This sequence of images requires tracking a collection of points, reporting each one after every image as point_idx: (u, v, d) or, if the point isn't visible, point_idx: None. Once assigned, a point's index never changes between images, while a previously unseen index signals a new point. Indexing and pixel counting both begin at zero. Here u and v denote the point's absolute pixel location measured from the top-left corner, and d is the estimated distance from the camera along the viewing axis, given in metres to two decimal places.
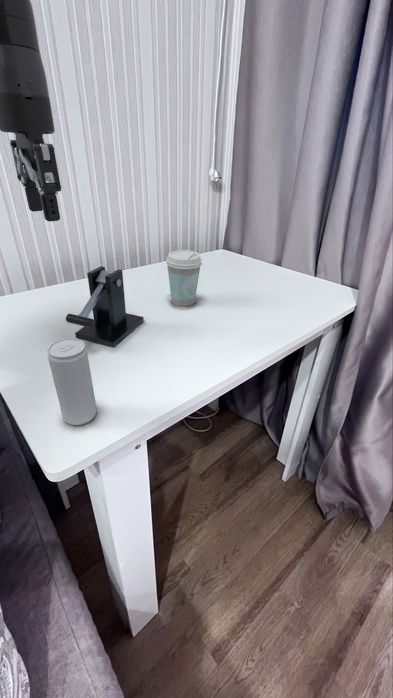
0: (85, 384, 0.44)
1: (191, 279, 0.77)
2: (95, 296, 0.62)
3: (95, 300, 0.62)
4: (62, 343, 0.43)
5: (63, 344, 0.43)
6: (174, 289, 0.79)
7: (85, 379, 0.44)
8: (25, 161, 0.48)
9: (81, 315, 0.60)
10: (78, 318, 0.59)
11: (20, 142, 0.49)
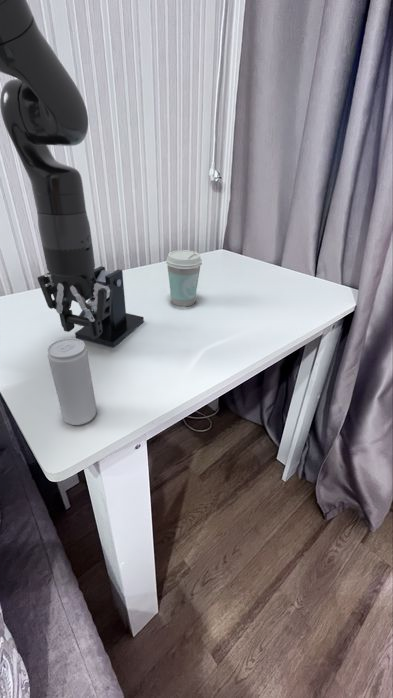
0: (85, 384, 0.44)
1: (191, 279, 0.77)
2: None
3: None
4: (62, 343, 0.43)
5: (63, 344, 0.43)
6: (174, 289, 0.79)
7: (85, 379, 0.44)
8: (78, 296, 0.55)
9: (81, 315, 0.60)
10: (78, 318, 0.59)
11: (64, 278, 0.55)
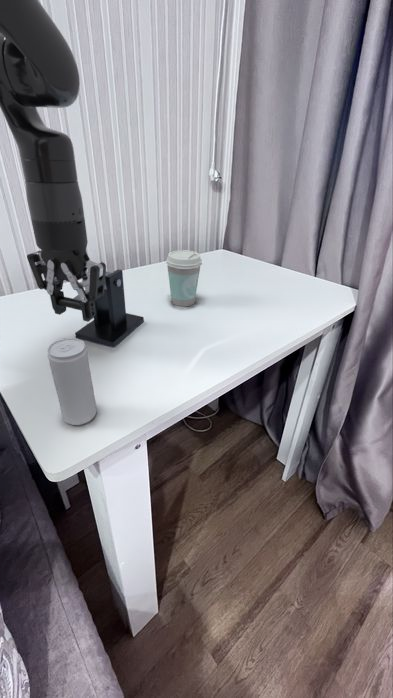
0: (85, 384, 0.44)
1: (191, 279, 0.77)
2: None
3: None
4: (62, 343, 0.43)
5: (63, 344, 0.43)
6: (174, 289, 0.79)
7: (85, 379, 0.44)
8: (69, 274, 0.52)
9: (75, 298, 0.57)
10: (71, 299, 0.57)
11: (54, 255, 0.52)
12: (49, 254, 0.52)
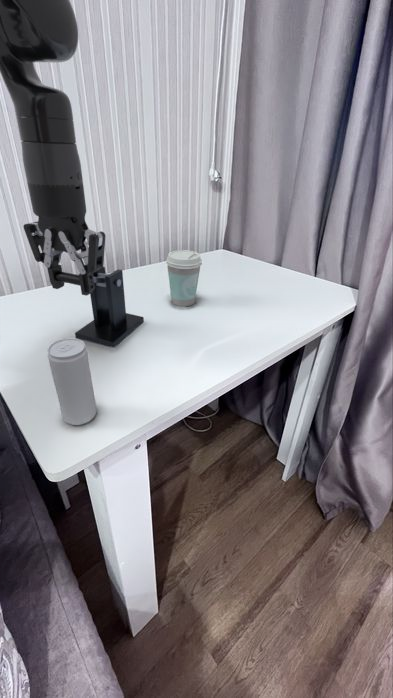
0: (85, 384, 0.44)
1: (191, 279, 0.77)
2: None
3: None
4: (62, 343, 0.43)
5: (63, 344, 0.43)
6: (174, 289, 0.79)
7: (85, 379, 0.44)
8: (67, 243, 0.50)
9: None
10: None
11: (52, 223, 0.50)
12: (46, 223, 0.50)
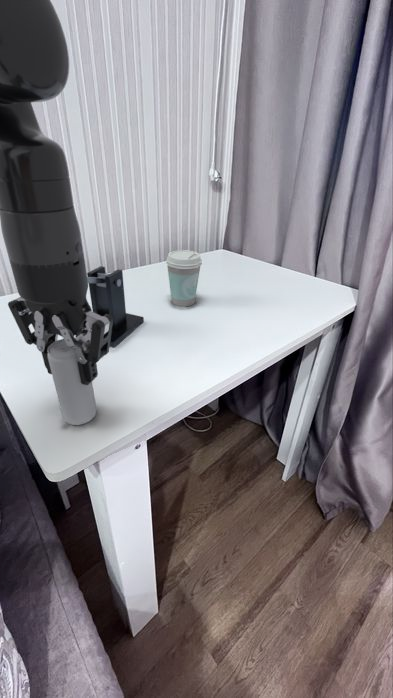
0: None
1: (191, 279, 0.77)
2: (93, 277, 0.60)
3: (91, 279, 0.60)
4: (62, 343, 0.43)
5: (63, 344, 0.43)
6: (174, 289, 0.79)
7: None
8: (63, 329, 0.38)
9: None
10: None
11: (43, 303, 0.38)
12: (36, 302, 0.39)
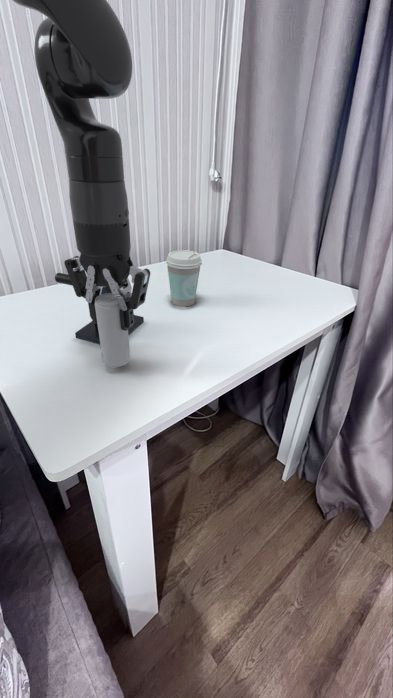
0: None
1: (191, 279, 0.77)
2: None
3: None
4: (105, 296, 0.53)
5: (106, 297, 0.53)
6: (174, 289, 0.79)
7: None
8: (111, 280, 0.48)
9: None
10: None
11: (95, 259, 0.48)
12: (89, 259, 0.48)
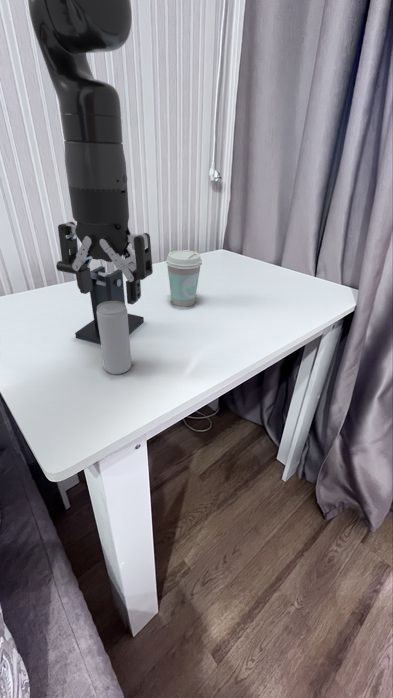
0: (125, 338, 0.54)
1: (191, 279, 0.77)
2: (94, 273, 0.60)
3: (92, 274, 0.60)
4: (107, 304, 0.54)
5: (108, 305, 0.53)
6: (174, 289, 0.79)
7: (125, 334, 0.54)
8: (110, 251, 0.46)
9: None
10: None
11: (92, 230, 0.46)
12: (86, 229, 0.46)
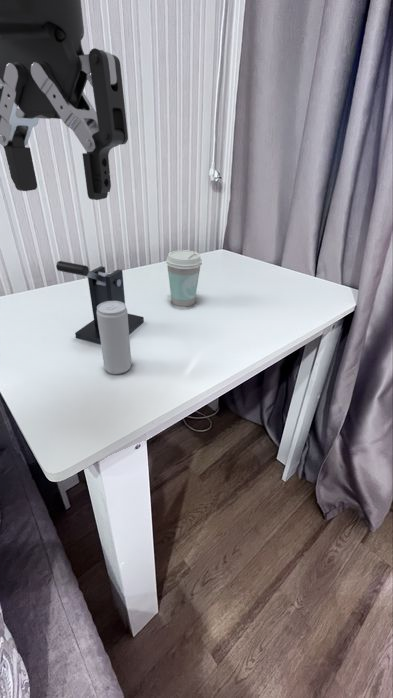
0: (125, 338, 0.54)
1: (191, 279, 0.77)
2: (94, 273, 0.60)
3: (92, 274, 0.60)
4: (107, 304, 0.54)
5: (108, 305, 0.53)
6: (174, 289, 0.79)
7: (125, 334, 0.54)
8: (51, 88, 0.26)
9: None
10: (73, 263, 0.55)
11: (19, 53, 0.26)
12: (9, 55, 0.27)
